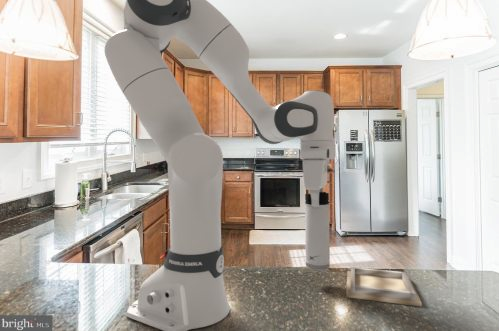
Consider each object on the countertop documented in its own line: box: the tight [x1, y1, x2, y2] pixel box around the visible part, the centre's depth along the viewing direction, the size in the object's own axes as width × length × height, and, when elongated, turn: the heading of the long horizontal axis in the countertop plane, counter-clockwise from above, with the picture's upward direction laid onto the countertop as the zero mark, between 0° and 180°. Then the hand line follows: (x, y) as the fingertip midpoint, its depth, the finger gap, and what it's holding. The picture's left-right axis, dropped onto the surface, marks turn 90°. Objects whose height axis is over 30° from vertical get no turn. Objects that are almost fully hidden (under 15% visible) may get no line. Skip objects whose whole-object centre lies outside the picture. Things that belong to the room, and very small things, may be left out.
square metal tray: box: [345, 266, 423, 308], centre depth 76 cm, size 16×16×2 cm
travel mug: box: [304, 191, 331, 271], centre depth 79 cm, size 6×7×20 cm
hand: (317, 204), depth 79 cm, fingers closed on travel mug, 6 cm apart
